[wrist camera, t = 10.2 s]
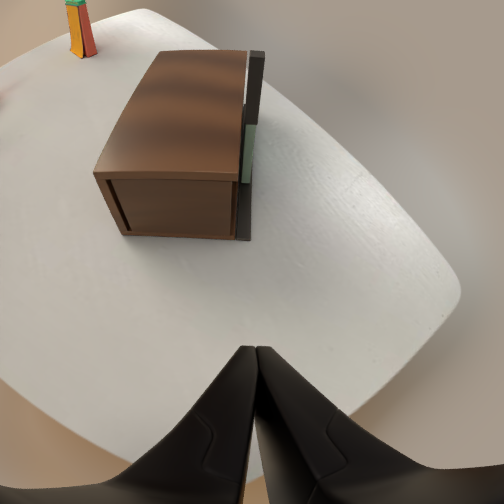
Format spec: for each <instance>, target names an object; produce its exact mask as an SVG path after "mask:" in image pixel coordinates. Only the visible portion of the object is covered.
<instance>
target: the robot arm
mask: <svg viewBox="0 0 504 504" xmlns="http://www.w3.org/2000/svg"><path fill="white" fill-rule="evenodd" d="M254 420H255V427H256V433H257V439H258V444H259V450H260V455H261V461H262V466H263V471H264V476H265V482H266V487H267V492H268V498H269V503H270V504H504V464H501V465H494V466H485V467H475V468H462V469H434V468H430V467H426V466H424V465H421V464H419V463H417V462H415V461H413V460H412V459H410V458H408V457H407V456H405V455H403V454H401V453H400V452H398V451H397V450H395V449H393V448H392V447H390V446H389V445H387V444H386V443H384V442H382V441H381V440H379V439H378V438H376V437H375V436H373V435H372V434H370V433H369V432H368V431H366V430H365V429H363V428H362V427H360V426H359V425H358V424H357V423H356V422H354V421H353V420H352V419H351V418H349V417H348V416H347V415H346V414H345V413H343V412H342V411H341V410H340V409H338V408H337V407H336V406H335V405H334V404H333V403H332V402H331V401H329V400H328V399H327V398H326V397H325V396H324V395H323V394H322V393H320V392H319V391H318V390H317V389H316V388H315V387H314V386H313V385H312V384H310V383H309V382H308V381H307V380H306V379H305V378H304V377H303V376H302V375H301V374H299V373H298V372H297V371H296V370H295V369H294V368H293V367H292V366H291V365H290V364H289V363H287V362H286V361H285V360H284V359H283V358H282V357H281V356H280V355H279V354H278V353H277V352H276V351H275V350H274V349H273V348H271V347H270V346H257V347H256V348H255V347H254V346H240V347H239V348H238V350H237V351H236V352H235V353H234V355H233V356H232V357H231V359H230V360H229V361H228V362H227V364H226V365H225V366H224V368H223V369H222V370H221V371H220V373H219V374H218V375H217V377H216V378H215V379H214V380H213V382H212V383H211V384H210V385H209V387H208V388H207V389H206V390H205V392H204V393H203V394H202V395H201V397H200V398H199V399H198V400H197V402H196V403H195V404H194V405H193V406H192V408H191V409H190V410H189V411H188V412H187V414H186V415H185V416H184V417H183V418H182V420H181V421H180V422H179V423H178V424H177V425H176V426H175V427H174V428H173V429H172V431H170V432H169V433H168V434H167V435H166V436H165V437H164V438H163V439H162V440H161V441H160V442H158V443H157V444H156V445H155V446H154V447H153V448H151V449H150V450H149V451H148V452H147V453H145V454H144V455H143V456H142V457H140V458H139V459H138V460H137V461H136V462H134V463H133V464H132V465H131V466H130V467H128V468H127V469H126V470H124V471H123V472H122V473H120V474H119V475H117V476H116V477H114V478H112V479H110V480H108V481H105V482H102V483H98V484H91V485H83V486H73V487H62V488H46V489H17V488H10V487H5V486H1V485H0V504H243V497H244V490H245V483H246V476H247V469H248V462H249V454H250V447H251V439H252V432H253V423H254Z"/></svg>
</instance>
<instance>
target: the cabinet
mask: <svg viewBox="0 0 504 504" xmlns="http://www.w3.org/2000/svg"><path fill="white" fill-rule="evenodd" d="M246 60H247V51H235V50H176V51H160V52H159V53H158V55H157V56H156V58H155V59H154V61H153V62H152V64H151V65H150V67H149V68H148V70H147V71H146V73H145V75H144V76H143V78H142V79H141V81H140V83H139V84H138V86H137V88H136V89H135V91H134V93H133V94H132V96H131V98H130V100H129V101H128V103H127V105H126V107H125V108H124V110H123V112H122V114H121V116H120V117H119V119H118V121H117V123H116V125H115V127H114V129H113V131H112V133H111V135H110V137H109V139H108V141H107V143H106V145H105V147H104V149H103V151H102V153H101V155H100V157H99V159H98V162H97V164H96V166H95V168H94V171H93V174H94V177H95V179H96V181H97V184H98V186H99V188H100V190H101V193H102V195H103V197H104V199H105V201H106V204H107V206H108V208H109V210H110V212H111V214H112V216H113V218H114V220H115V222H116V224H117V226H118V229H119V231H120V232H121V234H122V235H140V236H163V237H185V238H206V239H226V240H235V226H236V208H237V191H238V175H239V159H240V175H239V192H238V210H237V229H236V240H242V241H250V239H251V195H252V167H251V176H250V183H241V177H242V159H243V141H244V121H245V107H246V104H244V112H243V100H244V87H245V73H246ZM242 114H243V127H242ZM241 129H242V142H241ZM240 144H241V158H240Z"/></svg>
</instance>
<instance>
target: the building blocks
mask: <svg viewBox="0 0 504 504" xmlns="http://www.w3.org/2000/svg"><path fill="white" fill-rule="evenodd" d="M65 1H66V8H67V15H68V21H69V28H70V35H71V49H70V51H72V52H73V53H74V54H76V55H77V56H79V57H80V58H81V59H82V58H83V54H84V55H86V56H87V57H90V56H92V55H95V54H97V50H96V46H95V42H94V38H93V34H92V30H91V25H90V21H89V17H88V12H87V7H86V2H85V0H65Z"/></svg>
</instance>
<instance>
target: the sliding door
mask: <svg viewBox="0 0 504 504" xmlns="http://www.w3.org/2000/svg"><path fill="white" fill-rule="evenodd" d="M264 61H265V52H264V51H252V50H251V51H250V57H249V69H248V81H247V94H246V107H245V121H244V141H243V159H242V177H241V183H250V176H251V167H252V157H253V148H254V138H255V129H256V125H257V123H258V114H259V105H260V96H261V88H262V79H263V70H264Z"/></svg>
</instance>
